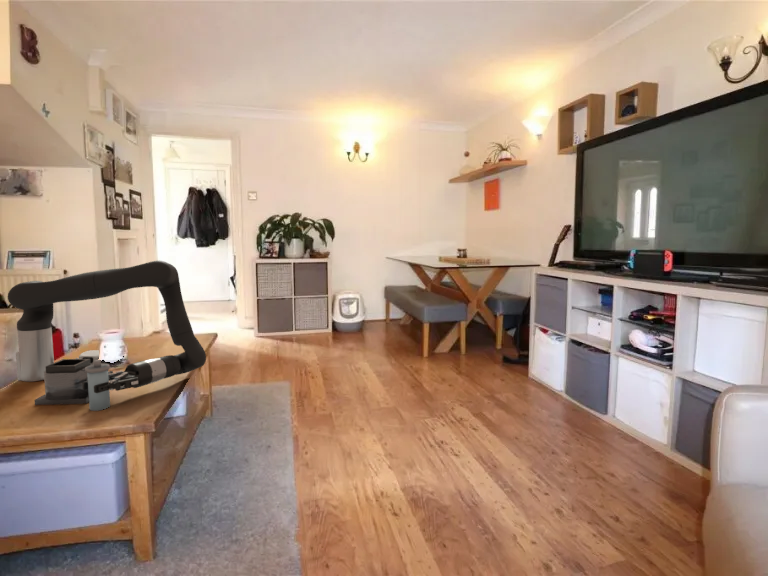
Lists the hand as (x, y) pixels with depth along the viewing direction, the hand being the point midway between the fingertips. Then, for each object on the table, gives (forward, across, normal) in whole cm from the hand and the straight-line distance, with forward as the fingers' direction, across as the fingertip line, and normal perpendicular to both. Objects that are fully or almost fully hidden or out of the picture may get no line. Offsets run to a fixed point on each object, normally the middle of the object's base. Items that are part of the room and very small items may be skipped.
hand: (89, 387), depth 124 cm
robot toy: (-30, -46, +7) cm, 55 cm away
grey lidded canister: (-3, 0, +6) cm, 7 cm away
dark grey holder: (-3, -15, +6) cm, 17 cm away
